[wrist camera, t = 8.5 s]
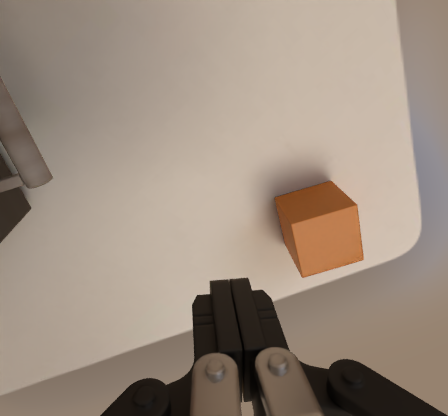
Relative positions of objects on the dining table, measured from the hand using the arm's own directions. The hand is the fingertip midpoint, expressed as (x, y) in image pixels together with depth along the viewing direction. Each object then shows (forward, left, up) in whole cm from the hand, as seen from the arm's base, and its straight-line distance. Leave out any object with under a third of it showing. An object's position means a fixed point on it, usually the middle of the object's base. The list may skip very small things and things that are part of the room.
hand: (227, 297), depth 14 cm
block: (-6, -7, -14) cm, 16 cm away
